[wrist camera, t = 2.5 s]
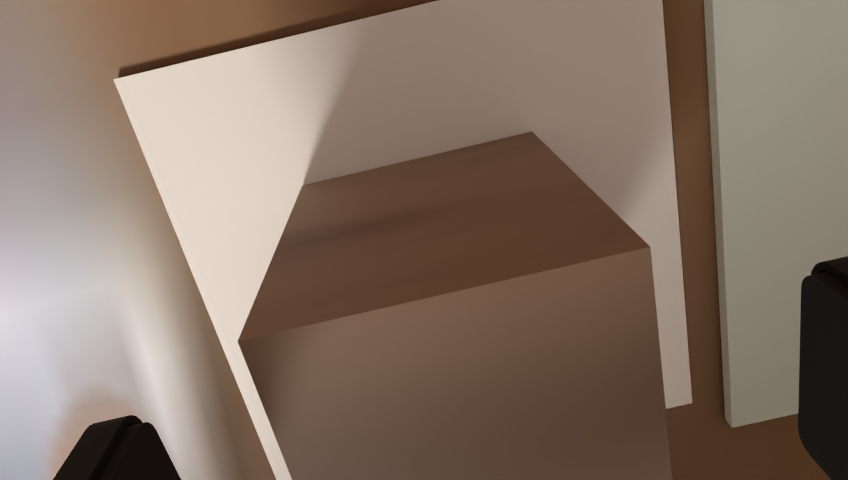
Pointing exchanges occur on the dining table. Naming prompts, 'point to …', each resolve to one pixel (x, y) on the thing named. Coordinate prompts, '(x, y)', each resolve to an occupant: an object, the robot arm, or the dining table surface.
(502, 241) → the walnut block
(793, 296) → the sage mat
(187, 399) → the dining table surface
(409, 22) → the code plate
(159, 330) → the dining table surface
